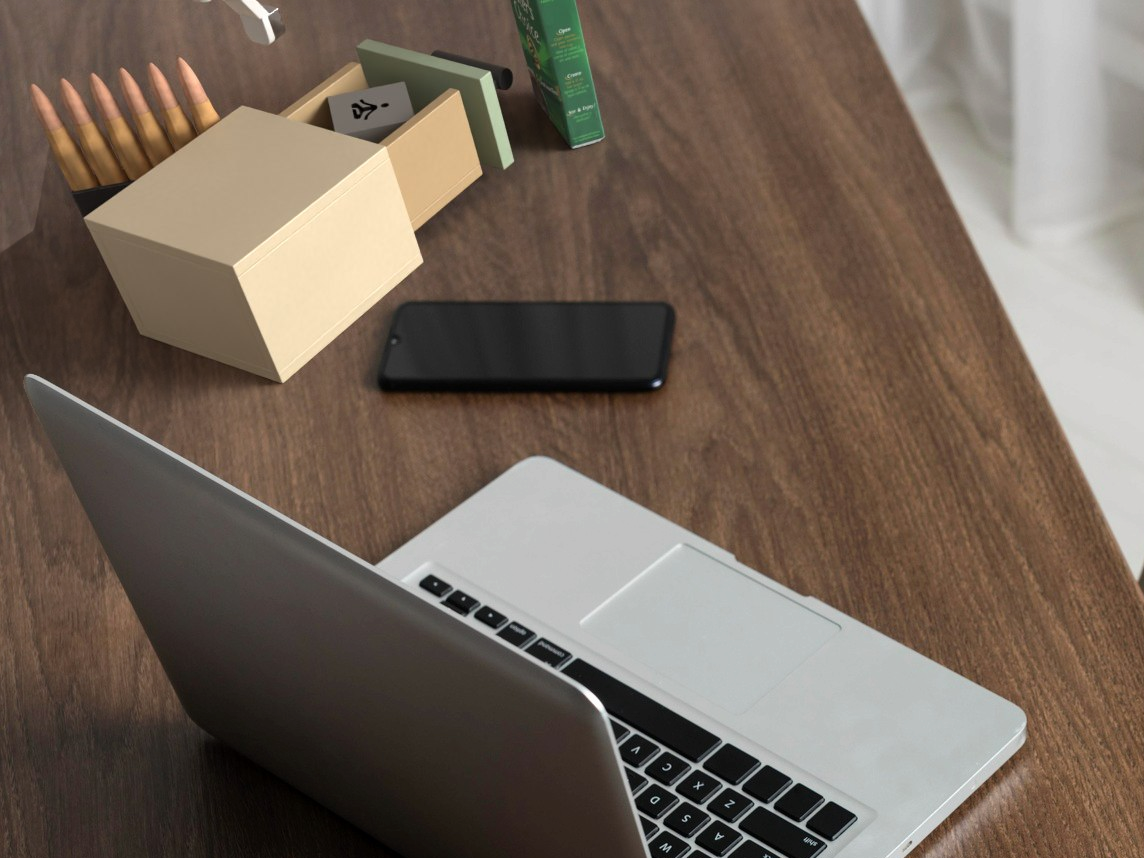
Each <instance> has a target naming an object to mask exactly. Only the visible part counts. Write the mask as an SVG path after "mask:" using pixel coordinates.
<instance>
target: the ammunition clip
mask: <svg viewBox="0 0 1144 858" xmlns="http://www.w3.org/2000/svg"><path fill="white" fill-rule="evenodd" d="M175 64H176V72H177V77H178V80H179V85H180V87H181V89H182V92H183V95H184V97H185V99H186V101H187V105H188V108H189V111H190V113H191V115H192V120H193V122H192V121H191V119H190V118H189V117H188V115H187V113H186V112H185V110H184V108H183V107H182V104H181V102H180V101H179V99H178V98H177V96H176V94H175V93H176V92H175V91H174V90H173V88H172V86H171V85H170V83H169V81H168V80H167V78H166V77H165V76H164V75H165V74H163V72H161V70H160V69H159V68H158V67H157V66H156V65H155V64H153V62H150V61H148V62H147V75H148V81H149V85H150V88H151V91H152V94H153V97H154V99H155V101H156V103H157V106H158V109H159V112H160V114H161V116H162V118H163V122H164V125H165V127H164V126H163V124H162V122H160V120H159V118H157V116H156V114H155V112H154V110H153V108H152V107H151V106H150V104H149V101H148V100H147V98H146V96H145V94H144V92H143V90H142V89H141V87H140V86H139V84H138V82H137V81H136V80H135V79H134V78H133V76H132V75H131V74H130V73H129V72H128V71H127V70H126V69H124V68H123V67H121V66H120V67H119V68H118V80H119V85H120V89H121V92H122V96H123V98H124V101H125V103H126V105H127V107H128V110H129V111H130V116H131V118H132V120H133V122H134V125H135V128H136V131H135V130H134V128H133V127H132V126H131V124H130V123H129V122H128V119H127V118H126V116H125V114H124V112H123V111H122V110H121V108H120V106H119V104H118V102H117V100H116V98H115V97H114V95H113V94H112V92H111V91H110V89H109V87H108V86H107V85H106V84H105V83H104V82H103V80H102V79H101V78H100V77H99V76H97V75H96V74H95V72H90V73H89V86H90V90H91V93H92V97H93V100H94V103H95V105H96V108H97V110H98V112H99V114H100V116H101V119H102V121H103V124H104V126H105V128H106V131H107V134H108V138H109V139H108V138H107V136H106V135H105V134H104V132H103V131H102V129H100V127H99V125H98V124H97V121H96V120H95V118H94V117H93V115H92V114H91V111H90V110H89V108H88V106H87V104H86V103H85V102H84V100H83V98H82V97H81V95H80V94H79V92H78V91H77V90H76V88H74V87H73V85H72V84H71V83H70V82H69V81H67V79H65V78H63V77H61V78H59V90H60V94H61V98H62V101H63V105H64V107H65V110H66V112H67V114H68V116H69V118H70V120H71V123H72V126H73V128H74V130H75V132H76V135H77V137H78V142H77V141H76V139H75V137H73V135H72V134H71V133H70V131H69V129H68V127H67V126H66V124H65V122H64V121H63V120H62V118H61V116H60V114H59V112H58V110H57V109H56V108H55V106H54V104H53V103H52V101H51V100H50V99H49V98H48V96H47V95H46V94H45V93H44V92H43V90H41V88H39V87H38V86H37V85H36V84H35V83H29V94H30V99H31V103H32V106H33V109H34V111H35V114H36V116H37V119H38V121H39V123H40V125H41V127H42V129H43V132H44V134H45V136H46V139H47V141H48V143H49V146H50V147H49V148H50V151H51V152H52V155H53V158H54V159H55V161H56V163H57V165H58V167H59V168H60V170H61V173H62V175H63V176H64V178H65V180H66V182H67V184H68V186H69V187H70V189H71V196H72V198H73V200H74V202H75V204H76V206H77V209H78V210H79V211H78V212H79V213H80V215H81V217H82V219H83V218H84V217H85V216H87V215H88V214H90V213H91V212H92V211H94V210H95V209H97V208H98V207H100V206H101V205H102V204H104V203H105V202H107V201H108V200H109V199H111V198H112V197H114V196H115V195H116V194H118V193H119V192H121V191H122V190H123V189H125V188H126V187H128V186H129V185H130V184H132V183H133V182H135V181H136V180H138V179H139V178H140V177H142V176H143V175H145V174H146V173H147V172H149V171H150V170H152V169H153V168H154V167H156V166H157V165H159V164H160V163H161V162H163V161H164V160H166V159H167V158H169V157H170V156H171V155H173V154H174V153H176V152H177V151H178V150H180V149H181V148H183V147H184V146H185V145H187V144H188V143H190V142H191V141H192V140H194V139H195V138H197V137H198V136H199V135H201V134H202V133H204V132H205V131H207V130H208V129H209V128H211V127H212V126H214V125H215V124H216V123H218V122H219V121H221V120H222V119H221V117H220V115H219V114H218V112H217V111H216V110H215V109H214V107H213V105H212V103H211V101H210V99H209V97H208V96H207V94H206V91H205V90H204V88H203V85H202V83H201V82H200V80H199V78H198V77H197V75H196V73H195V72H194V71H193V69H192V68H191V67H190V65H189V64H188V63H187V62H186V61H185V60H184V59H183V58H182V57H180V56H177V57H176V63H175ZM84 224H85V226H86V228H87V230H88V232H89V234H90V236H91V238H92V240H93V242H94V245H95V247H96V249H97V252H98V253H99V256H100V257H101V260H102V261H104V259H103V257H102V255H101V253H100V251H99V249H98V247H97V245H96V243H95V241H94V239H93V237H92V235H91V233H90V231H89V230H90V229H88V227H87V225H86V223H85V222H84Z"/></svg>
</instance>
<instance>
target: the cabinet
mask: <svg viewBox="0 0 1144 858" xmlns="http://www.w3.org/2000/svg"><path fill="white" fill-rule="evenodd" d="M175 152H176V151H175ZM82 220H83V221H84V224H85V223H86V224H85V226H86V225H87V226H86V228H87V227H88V228H87V230H88V229H90V230H88V232H89V231H90V232H89V234H90V233H91V234H90V236H91V235H92V236H91V238H92V237H93V238H92V240H93V239H94V241H95V243H96V245H97V247H98V249H99V251H100V253H101V255H102V257H103V259H104V260H103V261H104V264H105V265H106V267H107V269H108V272H109V273H110V275H111V277H112V279H113V281H114V283H115V286H116V287H117V290H118V292H119V294H120V296H121V299H122V300H123V302H124V304H125V306H126V308H127V310H128V312H129V314H130V316H131V318H132V320H133V322H134V324H135V327H136V329H137V331H138V333H139V335H141V336H143V337H145V338H146V337H147V338H150V339H152V340H155V341H158V342H161V343H163V344H166V345H170V346H173V347H176V348H179V349H180V350H184V351H187V352H190V353H193V354H196V355H199V356H201V357H204V358H207V359H210V360H213V361H216V362H218V363H222V364H223V365H228V366H231V367H234V368H236V369H239V370H242V371H245V372H248V373H250V374H253V375H256V376H259V377H262V378H265V379H268V380H271V381H274V382H277V383H280V384H284V383H285V382H287V381H288V380H289V379H290V378H292V377H293V376H294V374H296V373H297V372H298V371H299V370H301V369H302V368H303V367H304V366H305V365H306V364H308V363H309V362H310V361H311V360H312V359H313V358H315V357H316V356H317V355H318V354H319V353H320V352H321V351H323V350H324V349H325V348H326V347H327V346H328V345H330V344H331V343H332V342H333V341H334V340H335V339H337V338H338V337H339V336H341V334H342V333H343V332H344V331H345V330H347V329H348V328H349V327H351V325H352V324H354V323H355V322H356V321H357V320H359V318H361V317H362V316H363V315H364V314H365V313H366V312H367V311H369V310H370V309H372V307H373V306H375V305H376V304H377V303H379V301H380V300H382V299H383V298H384V297H385V296H386V295H387V294H389V292H391V291H392V290H393V289H394V288H395V287H396V286H398V285H399V284H400V283H402V281H403V280H405V278H407V277H409V275H410V274H412V273H413V272H414V271H415V270H416V269H418V267H420V266H421V265H422V264H423V263H424V259H423V257H422V253H421V250H420V247H419V244H418V241H417V238H416V235H415V232H414V231H413V228H412V225H411V222H410V219H409V216H408V213H407V210H406V207H405V204H404V200H403V197H402V194H401V191H400V188H399V185H398V182H397V179H396V176H395V173H394V170H393V167H392V164H391V161H390V158H389V155H388V152H387V149H386V147H385V146H383V145H379V144H376V143H372V142H369V141H365V140H362V139H358V138H355V137H351V136H348V135H344V134H341V133H337V132H334V131H330V130H327V129H323V128H320V127H316V126H313V125H309V124H306V123H302V122H299V121H295V120H292V119H288V118H285V117H281V116H278V114H274V113H270V112H268V111H263V110H261V109H256V108H253V107H250V106H246V105H243V104H242V105H239V107H237V108H236V109H234V110H233V111H232V112H230V113H229V114H228V115H226V116H225V117H223V118H222V119H221V121H219V122H218V123H216V124H215V125H214V126H212V127H211V128H209V129H208V130H207V131H205V132H204V133H202V134H201V135H199V134H198V137H197V138H195V139H194V140H192V141H191V142H190V143H188V144H187V145H185V146H184V147H183V148H181V149H180V150H178V151H177V152H176V153H174V154H173V155H171V156H170V157H169V158H167V159H166V160H164V161H163V162H161V163H160V164H159V165H157V166H156V167H154V168H153V169H152V170H150V171H149V172H147V173H146V174H145V175H143V176H142V177H140V178H139V179H138V180H136V181H135V182H133V183H132V184H130V185H129V186H128V187H126V188H125V189H123V190H122V191H121V192H119V193H118V194H116V195H115V196H114V197H112V198H111V199H109V200H108V201H107V202H105V203H104V204H102V205H101V206H100V207H98V208H97V209H95V210H94V211H92V212H91V213H90V214H88V215H87V216H85V217H84V218H83V217H82ZM94 241H93V242H94ZM95 243H94V244H95ZM96 245H95V246H96ZM97 247H96V248H97ZM98 249H97V250H98ZM99 251H98V252H99ZM100 253H99V254H100ZM101 255H100V256H101Z"/></svg>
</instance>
